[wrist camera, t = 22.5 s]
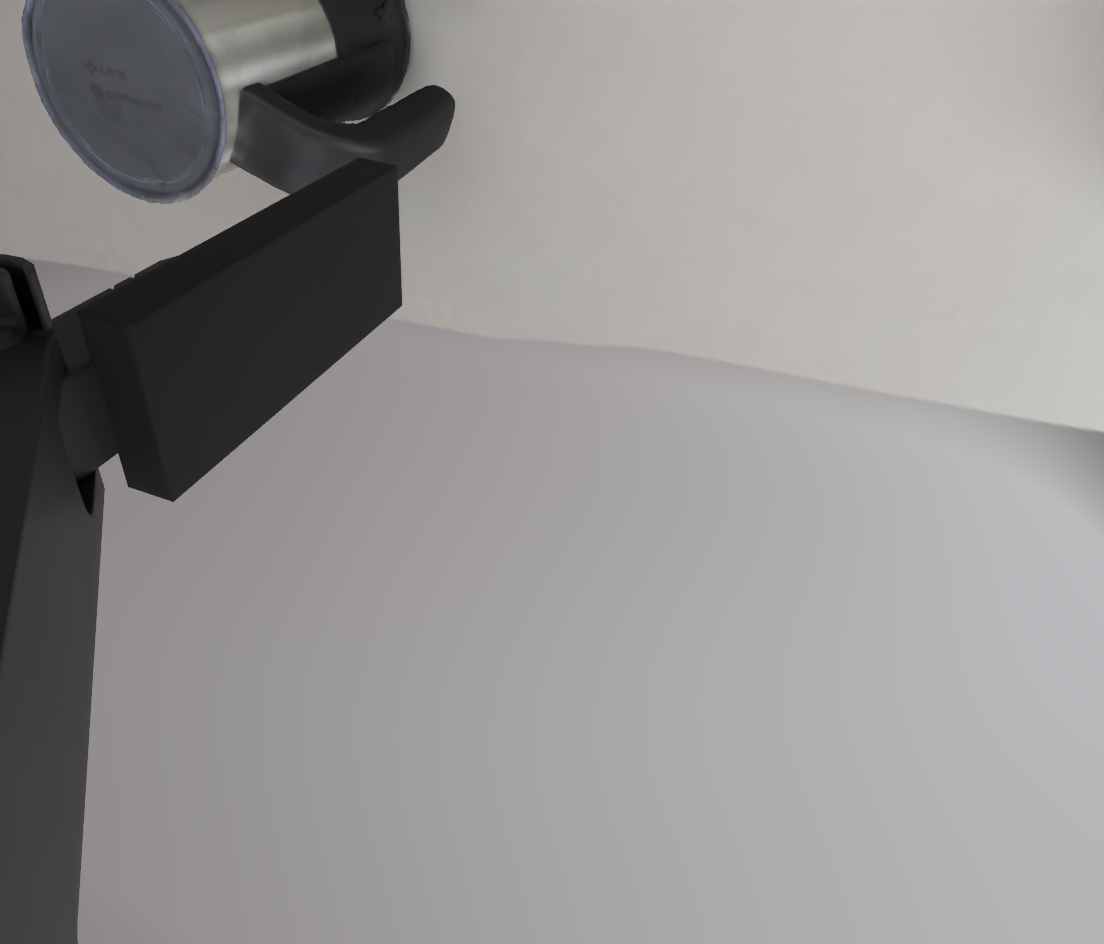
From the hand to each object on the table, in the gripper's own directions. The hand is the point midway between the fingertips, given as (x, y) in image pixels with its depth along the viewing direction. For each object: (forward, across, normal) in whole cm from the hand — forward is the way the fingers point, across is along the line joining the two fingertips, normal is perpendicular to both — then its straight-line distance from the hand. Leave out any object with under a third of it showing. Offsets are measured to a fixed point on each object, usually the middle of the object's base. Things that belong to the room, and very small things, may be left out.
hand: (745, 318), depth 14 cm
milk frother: (+29, -24, 0) cm, 37 cm away
